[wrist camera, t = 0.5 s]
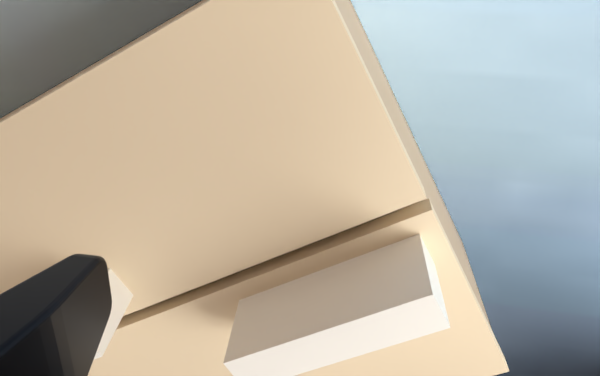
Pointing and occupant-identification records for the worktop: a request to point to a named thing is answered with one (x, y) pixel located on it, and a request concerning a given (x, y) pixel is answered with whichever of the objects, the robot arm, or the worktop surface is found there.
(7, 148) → the outer lid
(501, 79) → the worktop surface
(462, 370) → the inner lid
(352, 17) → the carton
